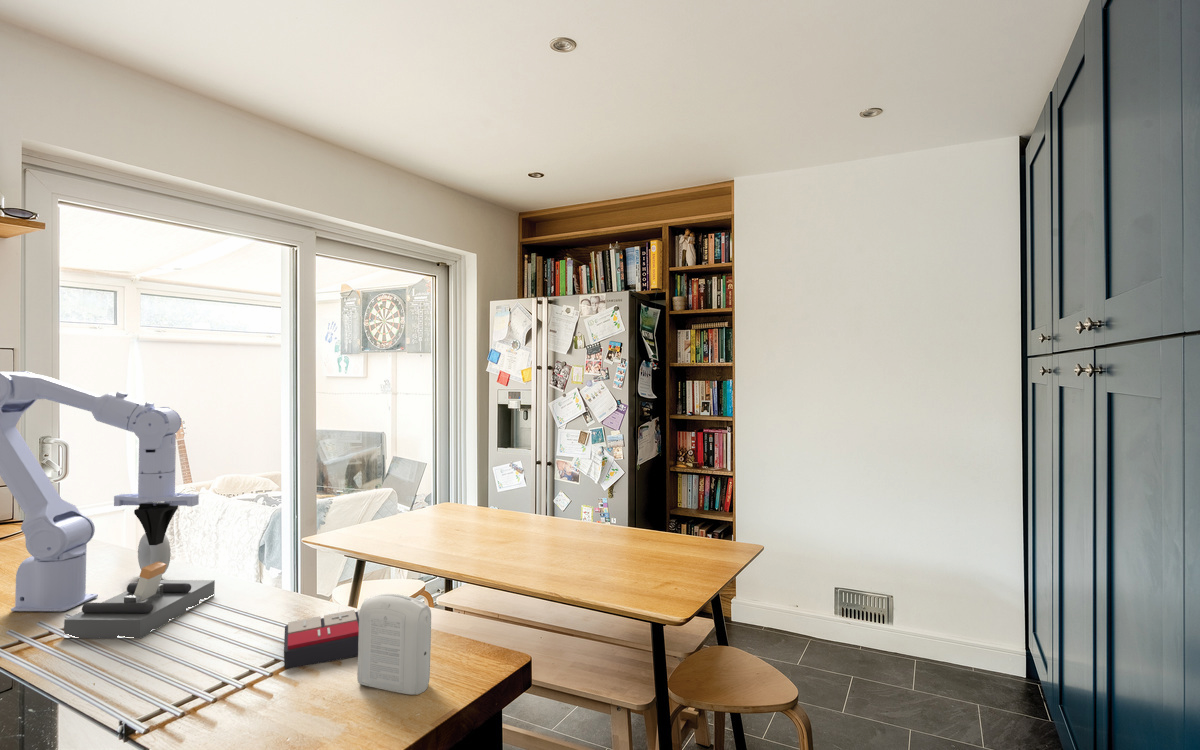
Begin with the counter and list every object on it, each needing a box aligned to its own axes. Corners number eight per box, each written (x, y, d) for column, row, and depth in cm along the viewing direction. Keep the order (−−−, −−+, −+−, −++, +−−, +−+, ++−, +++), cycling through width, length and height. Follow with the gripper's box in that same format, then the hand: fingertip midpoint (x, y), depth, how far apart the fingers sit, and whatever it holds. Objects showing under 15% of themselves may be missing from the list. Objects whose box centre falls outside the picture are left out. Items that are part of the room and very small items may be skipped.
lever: (130, 602, 106) (142, 568, 106) (146, 594, 110) (158, 561, 110) (139, 605, 106) (151, 571, 106) (155, 597, 110) (167, 564, 110)
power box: (63, 638, 100) (64, 607, 100) (150, 595, 120) (151, 569, 120) (140, 638, 100) (140, 607, 100) (214, 595, 120) (214, 569, 120)
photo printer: (435, 684, 87) (436, 594, 87) (417, 699, 83) (418, 605, 83) (372, 672, 90) (373, 586, 90) (352, 686, 86) (353, 596, 86)
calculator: (284, 620, 100) (382, 601, 107) (285, 646, 100) (383, 626, 107) (283, 646, 91) (391, 624, 97) (284, 676, 91) (393, 652, 97)
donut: (173, 579, 129) (174, 531, 130) (154, 584, 127) (155, 534, 127) (153, 571, 135) (154, 524, 135) (134, 574, 132) (135, 527, 132)
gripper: (101, 474, 114) (100, 549, 114) (182, 475, 114) (181, 549, 114) (130, 469, 121) (128, 539, 121) (205, 469, 121) (204, 539, 121)
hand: (156, 543), depth 118 cm, fingers closed
